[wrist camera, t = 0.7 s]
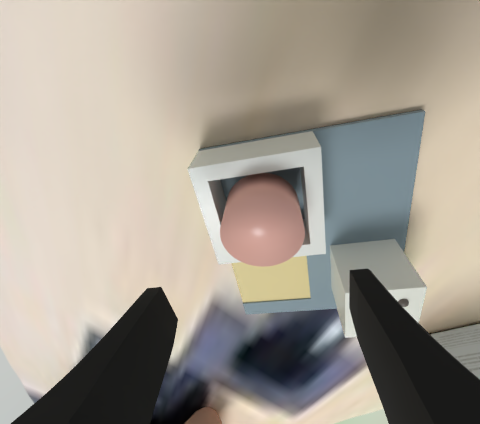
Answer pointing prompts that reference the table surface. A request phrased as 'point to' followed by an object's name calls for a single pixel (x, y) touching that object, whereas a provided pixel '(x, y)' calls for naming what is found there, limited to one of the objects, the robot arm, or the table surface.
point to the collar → (254, 162)
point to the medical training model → (204, 417)
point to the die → (384, 268)
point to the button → (262, 221)
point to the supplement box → (463, 346)
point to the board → (341, 207)
